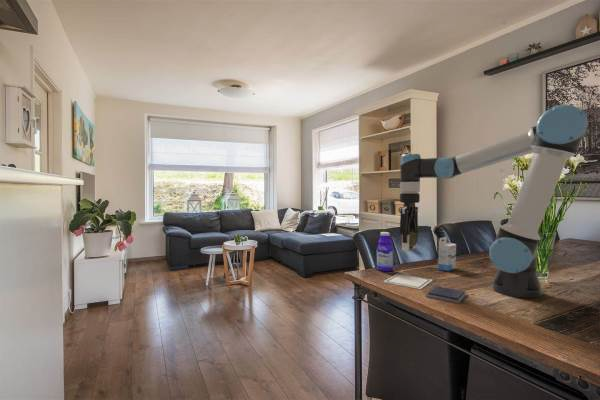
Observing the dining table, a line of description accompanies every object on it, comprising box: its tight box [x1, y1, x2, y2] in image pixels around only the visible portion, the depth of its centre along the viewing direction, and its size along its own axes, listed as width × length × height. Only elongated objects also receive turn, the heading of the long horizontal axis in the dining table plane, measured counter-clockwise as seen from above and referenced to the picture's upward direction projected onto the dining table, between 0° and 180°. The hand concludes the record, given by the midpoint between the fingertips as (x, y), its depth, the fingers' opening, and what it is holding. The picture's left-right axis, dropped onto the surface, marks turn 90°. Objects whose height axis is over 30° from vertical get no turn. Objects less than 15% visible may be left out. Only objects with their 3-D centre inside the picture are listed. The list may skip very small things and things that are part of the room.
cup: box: [398, 229, 420, 252], centre depth 135 cm, size 8×7×8 cm
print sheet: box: [382, 273, 434, 290], centre depth 135 cm, size 15×15×1 cm
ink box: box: [437, 236, 457, 272], centre depth 155 cm, size 8×5×15 cm, turn 134°
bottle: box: [376, 231, 394, 272], centre depth 153 cm, size 7×6×17 cm
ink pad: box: [425, 285, 468, 305], centre depth 118 cm, size 11×11×1 cm
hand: (408, 249), depth 135 cm, fingers closed on cup, 7 cm apart
